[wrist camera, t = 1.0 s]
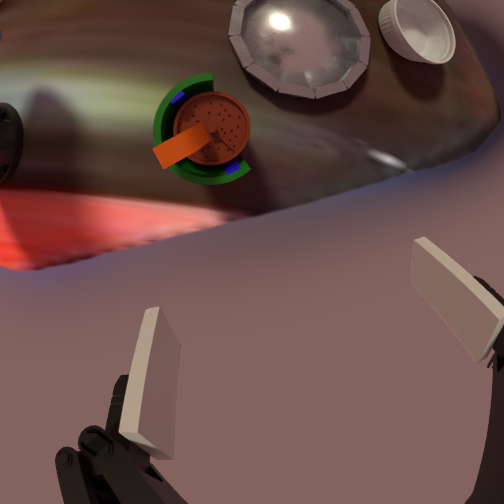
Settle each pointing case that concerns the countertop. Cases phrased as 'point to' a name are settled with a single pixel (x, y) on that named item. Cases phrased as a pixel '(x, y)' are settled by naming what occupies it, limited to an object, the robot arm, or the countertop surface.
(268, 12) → the tray
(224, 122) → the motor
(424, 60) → the ramekin
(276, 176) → the countertop surface
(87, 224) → the countertop surface
